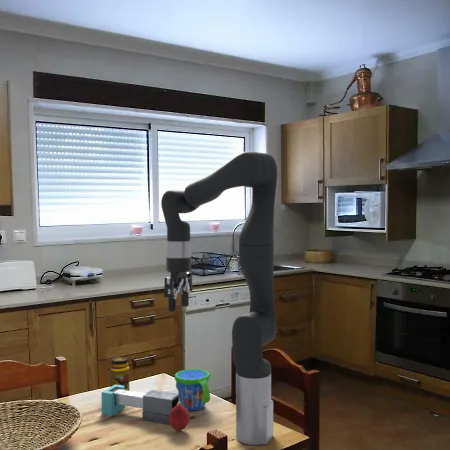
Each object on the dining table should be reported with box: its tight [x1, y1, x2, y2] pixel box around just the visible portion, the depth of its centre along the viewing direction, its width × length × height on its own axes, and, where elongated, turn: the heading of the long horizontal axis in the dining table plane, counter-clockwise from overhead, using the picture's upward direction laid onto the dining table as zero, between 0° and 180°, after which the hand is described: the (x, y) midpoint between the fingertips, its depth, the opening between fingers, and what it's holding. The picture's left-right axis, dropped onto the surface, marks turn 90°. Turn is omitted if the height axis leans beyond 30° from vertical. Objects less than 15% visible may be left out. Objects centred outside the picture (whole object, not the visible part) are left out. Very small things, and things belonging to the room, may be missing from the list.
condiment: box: [101, 356, 130, 399], centre depth 164 cm, size 7×8×12 cm
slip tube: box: [111, 389, 147, 409], centre depth 149 cm, size 14×3×3 cm, turn 68°
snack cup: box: [174, 368, 211, 412], centre depth 154 cm, size 16×10×10 cm
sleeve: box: [141, 389, 180, 426], centre depth 146 cm, size 9×6×7 cm, turn 68°
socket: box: [101, 385, 126, 417], centre depth 152 cm, size 4×7×7 cm, turn 158°
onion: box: [168, 401, 191, 433], centre depth 137 cm, size 6×6×8 cm
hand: (178, 308), depth 154 cm, fingers open, 8 cm apart
